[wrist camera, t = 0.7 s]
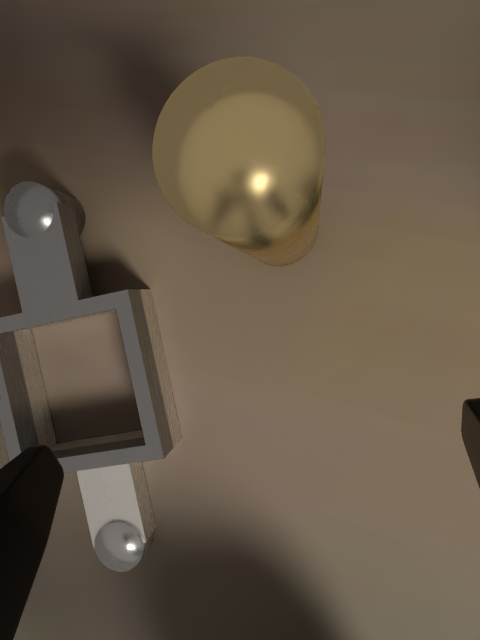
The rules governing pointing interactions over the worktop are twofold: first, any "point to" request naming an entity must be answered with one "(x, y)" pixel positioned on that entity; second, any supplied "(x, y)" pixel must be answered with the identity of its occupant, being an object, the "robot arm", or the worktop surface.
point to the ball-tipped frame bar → (27, 385)
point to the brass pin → (244, 157)
